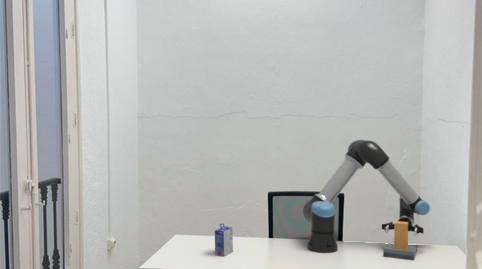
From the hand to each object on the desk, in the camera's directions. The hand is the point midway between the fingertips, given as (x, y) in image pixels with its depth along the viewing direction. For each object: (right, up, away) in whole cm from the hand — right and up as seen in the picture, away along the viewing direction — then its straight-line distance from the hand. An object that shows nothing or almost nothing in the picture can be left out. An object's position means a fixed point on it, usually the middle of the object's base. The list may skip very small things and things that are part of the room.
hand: (400, 231), depth 229 cm
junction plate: (0, -11, +1) cm, 11 cm away
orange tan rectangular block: (+1, -9, +3) cm, 10 cm away
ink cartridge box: (-88, -10, -3) cm, 88 cm away
